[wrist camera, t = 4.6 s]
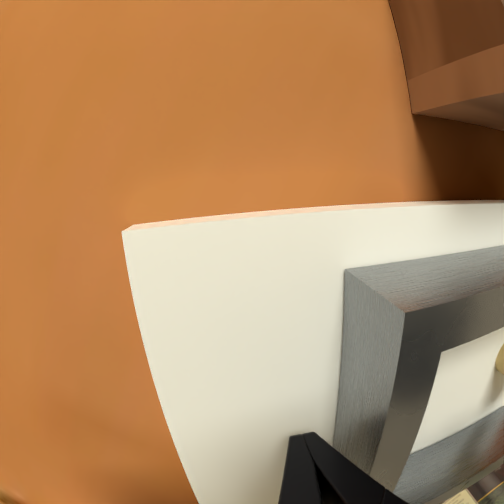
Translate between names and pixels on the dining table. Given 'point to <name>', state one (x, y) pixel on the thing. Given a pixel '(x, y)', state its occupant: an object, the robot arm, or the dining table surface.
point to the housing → (415, 369)
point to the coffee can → (483, 490)
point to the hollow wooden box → (454, 58)
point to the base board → (287, 329)
